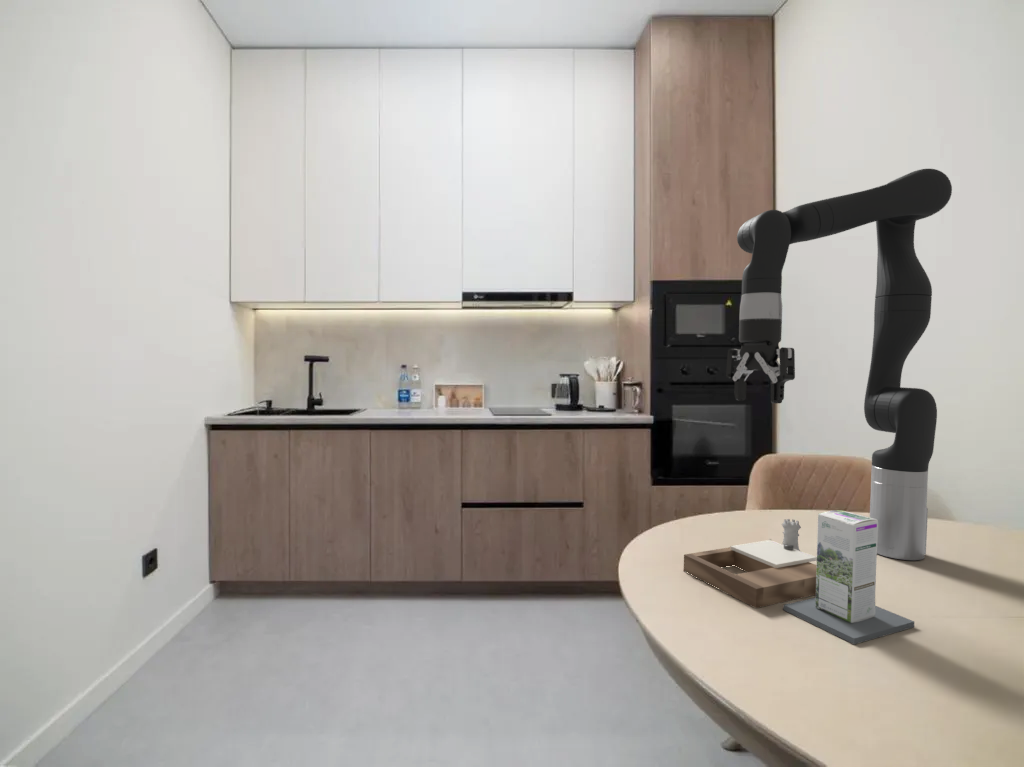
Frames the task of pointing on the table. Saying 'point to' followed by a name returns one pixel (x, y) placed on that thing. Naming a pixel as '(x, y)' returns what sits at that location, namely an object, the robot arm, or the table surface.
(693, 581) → the table surface
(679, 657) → the table surface
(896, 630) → the rubber mat
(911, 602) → the table surface
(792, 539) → the rook chess piece
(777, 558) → the sliding lid
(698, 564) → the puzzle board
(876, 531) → the syrup box
